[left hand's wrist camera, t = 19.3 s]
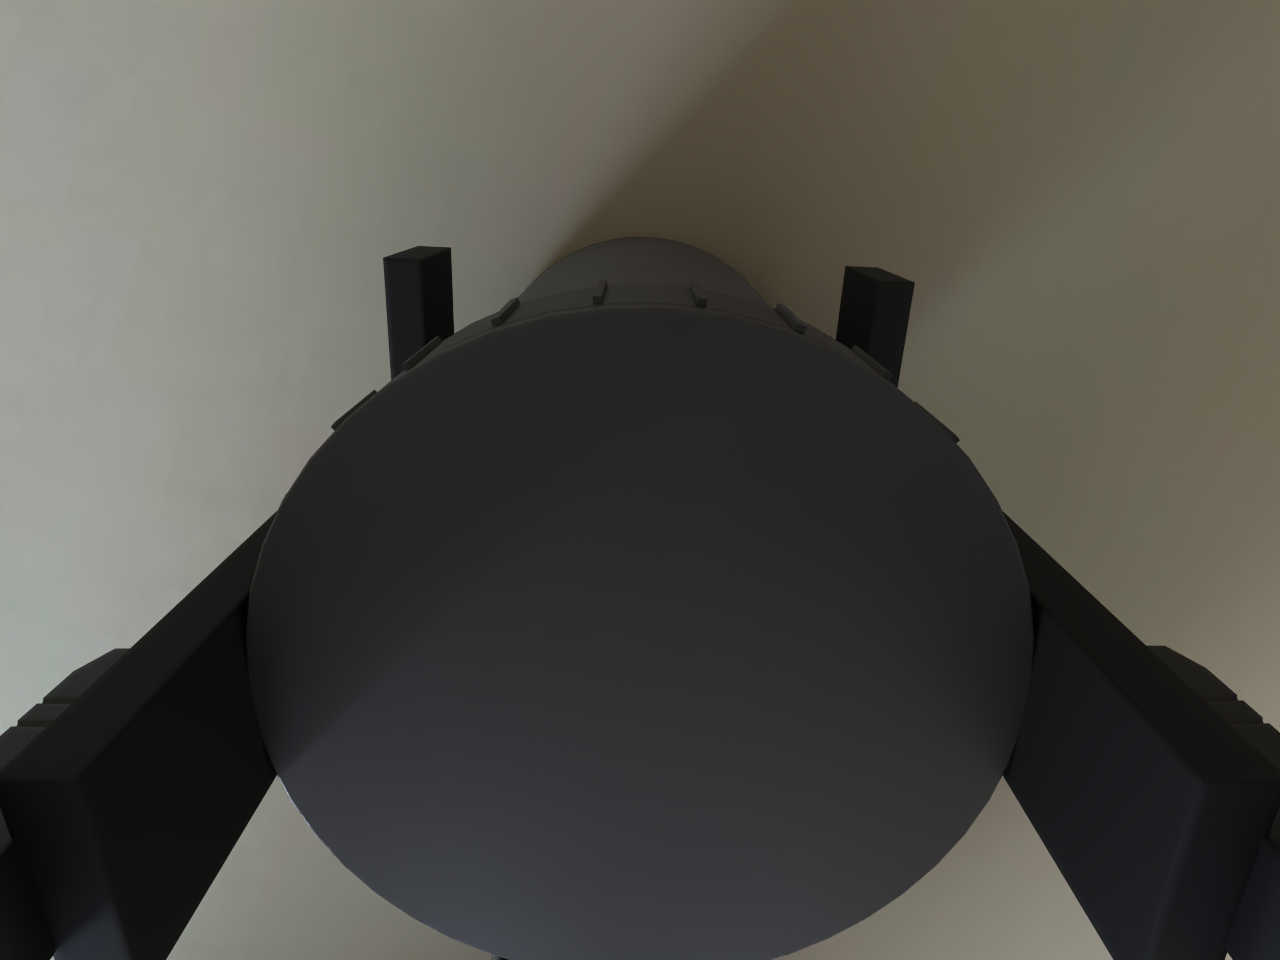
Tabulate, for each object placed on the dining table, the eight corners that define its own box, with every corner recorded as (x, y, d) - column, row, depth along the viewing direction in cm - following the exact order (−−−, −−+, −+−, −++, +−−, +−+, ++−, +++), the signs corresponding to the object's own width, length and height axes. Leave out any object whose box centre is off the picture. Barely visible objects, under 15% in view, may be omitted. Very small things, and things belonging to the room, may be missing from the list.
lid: (174, 417, 11) (75, 468, 9) (896, 163, 10) (958, 161, 8) (464, 927, 15) (436, 1044, 13) (1026, 782, 13) (1092, 887, 11)
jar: (817, 479, 26) (1023, 837, 12) (551, 556, 27) (456, 969, 13) (744, 194, 23) (908, 229, 9) (447, 292, 24) (175, 462, 10)
